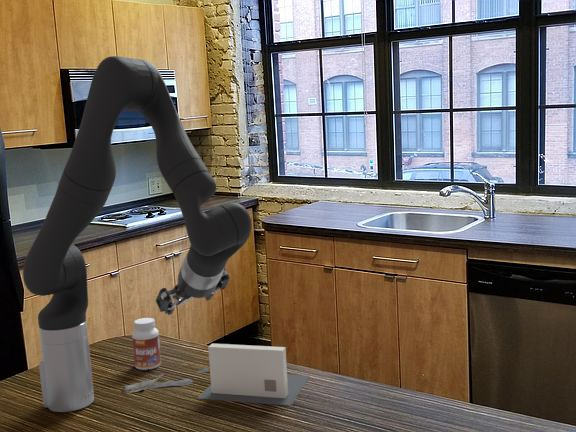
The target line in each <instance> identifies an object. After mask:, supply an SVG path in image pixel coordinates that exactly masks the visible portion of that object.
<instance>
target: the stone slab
mask: <svg viewBox="0 0 576 432" xmlns="http://www.w3.org/2000/svg"><path fill="white" fill-rule="evenodd" d="M206 372H209V367H203V368H202V369H199V370H198V371H197V372H196V374H198V375H199V374H203V373H206ZM160 374H161V375H159V374H158V375H159V377H158V378H156V379H153V380H151V379H148V380H144V381H141V382H140V381H139V382H137V383H132V384H129V385H128V384H127V385H124V386H123V390H122V393H123V394H126V393H129V394H130V393H136V392H140V391H143V390H144V391H145V390H147V389H156V388H165V387H178V386H180V387H184V386H185V387H186V386H188V385H190V384H192V383H194V380H193V379H191V378H185V379H180V380H176V381H174V380H167V381H163V382H159V383H156V382H157V381H158V380H159V379H160V378H161V377H163V376H164V375H165V374H164V373H160ZM158 375H154V376H155V377H157V376H158ZM154 376H152V377H154ZM132 379H135V377H133V378H132Z"/></svg>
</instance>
